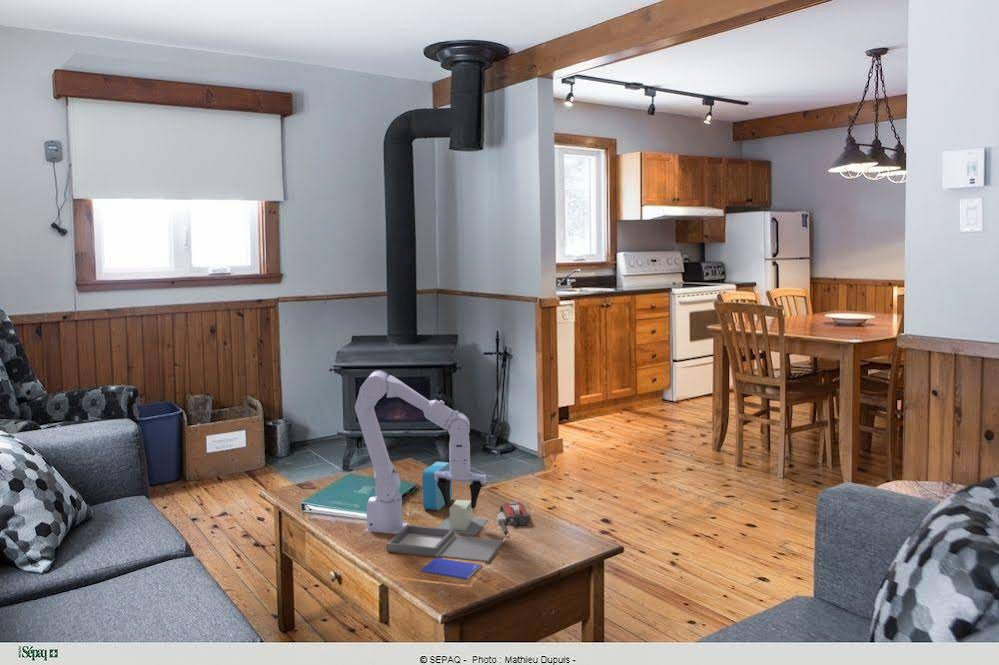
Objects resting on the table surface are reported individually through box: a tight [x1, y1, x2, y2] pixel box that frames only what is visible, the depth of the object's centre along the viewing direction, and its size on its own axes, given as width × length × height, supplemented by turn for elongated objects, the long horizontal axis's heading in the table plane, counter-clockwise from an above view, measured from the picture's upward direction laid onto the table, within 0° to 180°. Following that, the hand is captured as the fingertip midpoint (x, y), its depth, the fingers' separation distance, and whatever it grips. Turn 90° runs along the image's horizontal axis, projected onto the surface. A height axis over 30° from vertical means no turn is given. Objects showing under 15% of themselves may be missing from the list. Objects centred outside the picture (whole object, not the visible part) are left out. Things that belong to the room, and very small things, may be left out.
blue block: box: [421, 461, 453, 511], centre depth 238 cm, size 12×4×12 cm, turn 161°
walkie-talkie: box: [496, 501, 530, 535], centre depth 223 cm, size 9×4×20 cm
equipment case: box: [385, 524, 504, 564], centre depth 206 cm, size 27×14×2 cm, turn 74°
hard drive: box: [420, 557, 482, 580], centre depth 192 cm, size 2×8×12 cm
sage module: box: [449, 499, 473, 530], centre depth 220 cm, size 4×7×6 cm, turn 167°
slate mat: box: [436, 515, 489, 536], centre depth 220 cm, size 12×12×1 cm
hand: (460, 506), depth 219 cm, fingers open, 7 cm apart
